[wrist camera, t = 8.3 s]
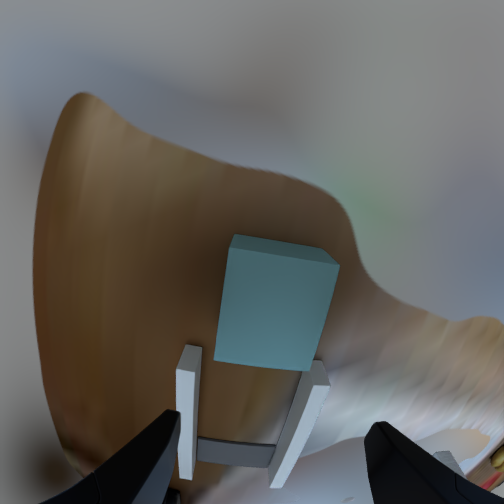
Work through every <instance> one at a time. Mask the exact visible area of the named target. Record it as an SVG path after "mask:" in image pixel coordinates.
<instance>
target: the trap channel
mask: <svg viewBox="0 0 504 504" xmlns="http://www.w3.org/2000/svg"><path fill="white" fill-rule="evenodd" d="M201 359H202V347H198V346H193V345H187V344H186V345H185V348H184V350H183V353H182V355H181V358H180V360H179V363H178V365H177V368H176V411H179V412H180V413H181V433H180V438H179V443H178V461H179V475H180V478H183V479H188V480H192V478H193V472H194V467H195V461H196V445H197V422H198V403H199V387H200V372H201ZM330 387H331V385H330V382H329V379H328V376H327V374H326V371H325V368H324V365H323V363H322V361H320V360H313V361H312V364H311V367H310V370H309V371H303V372H302V375H301V378H300V381H299V384H298V387H297V390H296V393H295V396H294V399H293V402H292V405H291V408H290V411H289V414H288V417H287V419H286V422H285V425H284V428H283V430H282V433H281V436H280V438H279V441H278V443H277V446H276V448H275V445H266V444H252V443H241V442H232V441H224V440H216V439H210V438H203V437H198V450H197V460H198V461H204V462H210V463H217V464H225V465H234V466H245V467H259V468H267V467H268V471H269V488H282V486H283V485H284V482H285V481H286V479H287V477H288V476H289V474H290V472H291V470H292V468H293V466H294V465H295V463H296V461H297V459H298V457H299V455H300V453H301V451H302V449H303V447H304V445H305V443H306V441H307V439H308V437H309V435H310V433H311V431H312V428H313V426H314V424H315V422H316V420H317V418H318V415H319V413H320V411H321V408H322V406H323V404H324V401H325V399H326V397H327V394H328V392H329V389H330ZM274 450H275V451H274ZM273 452H274V454H273ZM272 455H273V456H272ZM271 457H272V458H271ZM270 460H271V461H270ZM269 462H270V463H269ZM268 465H269V466H268Z"/></svg>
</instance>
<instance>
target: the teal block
mask: <svg viewBox="0 0 504 504" xmlns="http://www.w3.org/2000/svg"><path fill="white" fill-rule="evenodd" d="M339 268H340V265H339V264H338V263H337V262H336V261H335V260H334V259H333V258H332V257H331V256H330V255H329V254H328V253H327V252H325V251H324V250H323V249H322V248H317V247H311V246H305V245H299V244H293V243H287V242H282V241H276V240H270V239H264V238H258V237H251V236H245V235H239V234H234V236H233V239H232V242H231V244H230V247H229V253H228V260H227V266H226V273H225V280H224V287H223V294H222V301H221V309H220V316H219V323H218V331H217V338H216V346H215V354H214V360H216V361H222V362H228V363H235V364H242V365H249V366H257V367H265V368H274V369H284V370H296V371H309V370H310V367H311V364H312V361H313V358H314V355H315V352H316V349H317V346H318V343H319V340H320V337H321V333H322V330H323V327H324V323H325V320H326V317H327V313H328V310H329V306H330V303H331V299H332V295H333V292H334V288H335V284H336V280H337V276H338V272H339Z"/></svg>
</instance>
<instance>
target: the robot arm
mask: <svg viewBox="0 0 504 504" xmlns="http://www.w3.org/2000/svg"><path fill="white" fill-rule="evenodd" d="M180 433H181V413H180V412H179V411H175V410H170V409H167V410H165V411H164V412H163V413H162V414H161V415H160V416H159V417H158V418H156V419H155V420H154V421H153V422H152V423H151V424H150V425H148V426H147V427H146V428H145V429H144V430H143V431H141V432H140V433H139V434H138V435H137V436H136V437H134V438H133V439H132V440H131V441H130V442H129V443H127V444H126V445H125V446H124V447H123V448H121V449H120V450H119V451H118V452H116V453H115V454H114V455H113V456H112V457H110V458H109V459H108V460H107V461H105V462H104V463H103V464H102V465H100V466H99V467H98V468H97V469H95V470H94V471H93V472H94V473H93V472H91V473H90V474H89V475H87V476H86V477H85V478H83V479H82V480H81V481H79V482H78V483H76V484H75V485H73V486H72V487H70V488H68V489H67V490H65V491H63V492H61V493H59V494H58V495H56V496H54V497H52V498H50V499H48V500H45V501H43V502H41V503H39V504H181V499H180V492H179V491H177V490H173V489H168V485H169V482H170V479H171V476H172V473H173V469H174V464H175V459H176V453H177V448H178V443H179V438H180ZM364 446H365V453H366V462H367V471H368V478H369V483H370V488H371V492H372V496H373V501H374V504H504V498H502V497H500V496H498V495H495V494H493V493H491V492H489V491H487V490H485V489H483V488H481V487H479V486H477V485H475V484H473V483H472V482H470V481H468V480H467V479H465V478H464V477H462V476H461V475H459V474H458V473H456V472H454V471H453V470H452V469H450V468H449V467H447V466H446V465H445V464H443V463H442V462H440V461H439V460H437V459H436V458H435V457H433V456H432V455H430V454H429V453H428V452H426V451H425V450H423V449H422V448H421V447H420V446H418V445H417V444H415V443H414V442H413V441H411V440H410V439H409V438H407V437H406V436H405V435H403V434H402V433H401V432H399V431H398V430H397V429H396V428H394V427H393V426H392V425H390V424H389V423H388V422H386V421H381V422H375V423H374V424H373V425H372V427H371V428H370V430H369V432H368V433H367V435H366V437H365V439H364Z"/></svg>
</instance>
